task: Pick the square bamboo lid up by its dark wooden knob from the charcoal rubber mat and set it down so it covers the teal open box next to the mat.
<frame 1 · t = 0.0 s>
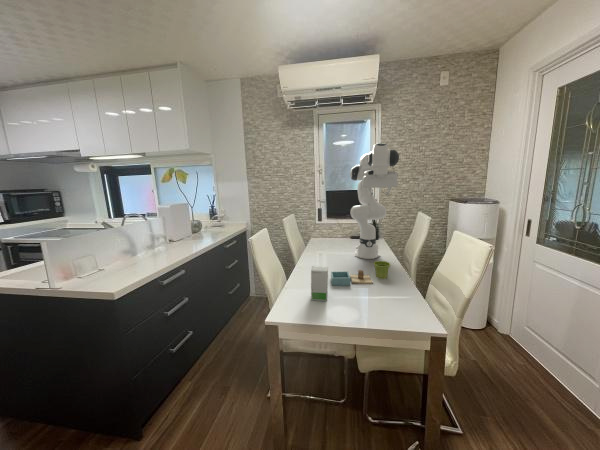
hand: (379, 195, 151), 48 cm above the table, fingers open, 8 cm apart
teal open box: (340, 283, 143), on the table
lid: (360, 279, 145), point 1 cm above the table, touching mat
plant pot: (381, 277, 149), on the table
mat: (360, 280, 145), on the table
skincare box: (319, 298, 126), on the table
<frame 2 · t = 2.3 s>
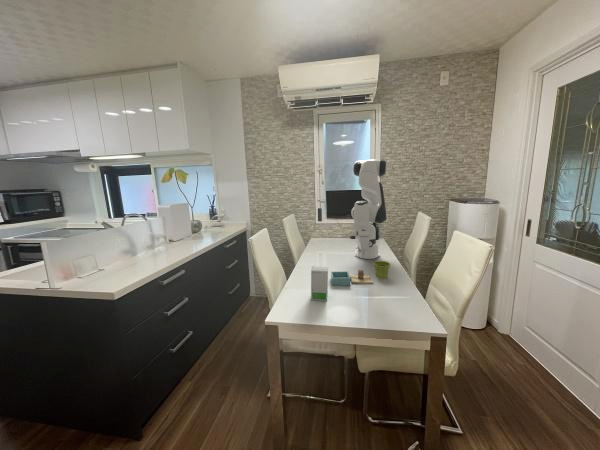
hand: (361, 254, 142), 16 cm above the table, fingers open, 8 cm apart
nothing on the table moved.
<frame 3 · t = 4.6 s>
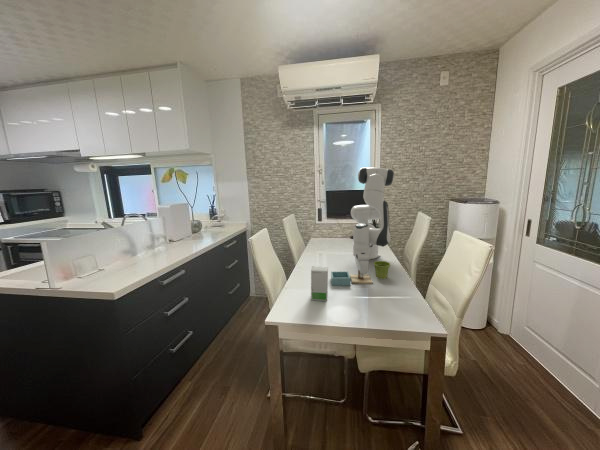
hand: (360, 275, 145), 3 cm above the table, fingers closed on lid, 3 cm apart
lid: (360, 279, 145), point 1 cm above the table, touching gripper, mat
everything else where it was.
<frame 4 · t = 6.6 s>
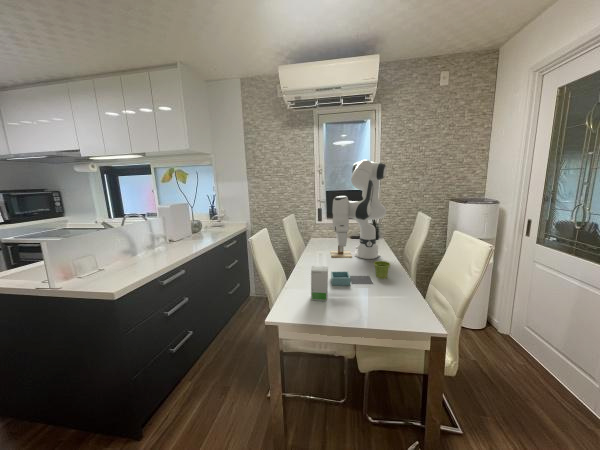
hand: (340, 250, 139), 19 cm above the table, fingers closed on lid, 3 cm apart
lid: (340, 255, 140), point 17 cm above the table, touching gripper
everything else where it was.
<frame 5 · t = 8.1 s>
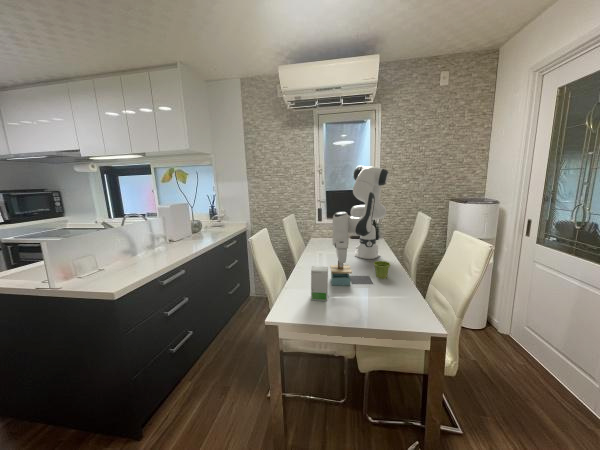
hand: (340, 265, 141), 11 cm above the table, fingers closed on lid, 3 cm apart
lid: (340, 269, 141), point 8 cm above the table, touching gripper
everything else where it was.
when the fingers open (9 cm above the table, at t = 9.1 s): lid drops 1 cm, resting on teal open box.
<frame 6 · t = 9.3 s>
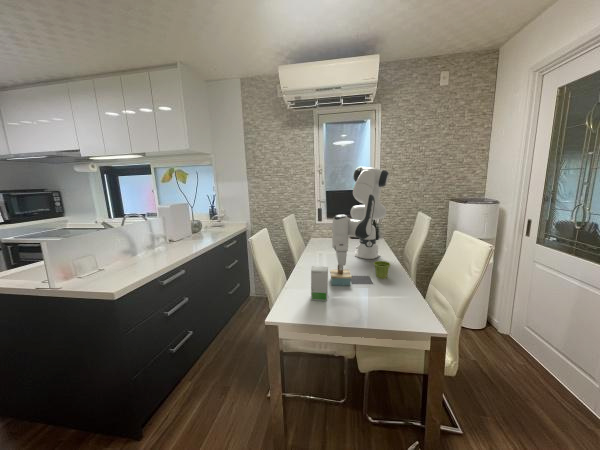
hand: (340, 267, 141), 9 cm above the table, fingers open, 5 cm apart
lid: (340, 274, 142), point 5 cm above the table, touching teal open box
everything else where it was.
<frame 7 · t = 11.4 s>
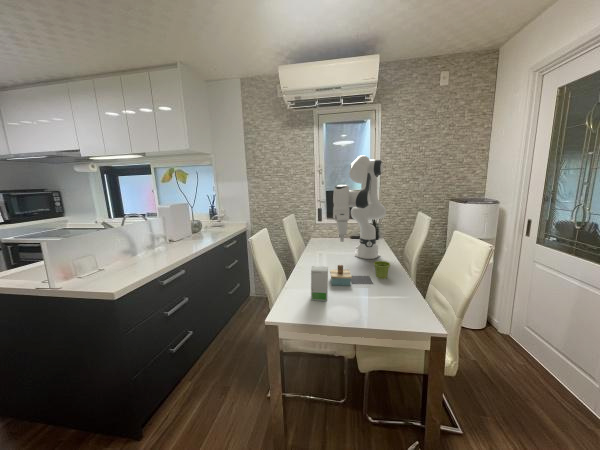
hand: (341, 239, 140), 25 cm above the table, fingers open, 8 cm apart
nothing on the table moved.
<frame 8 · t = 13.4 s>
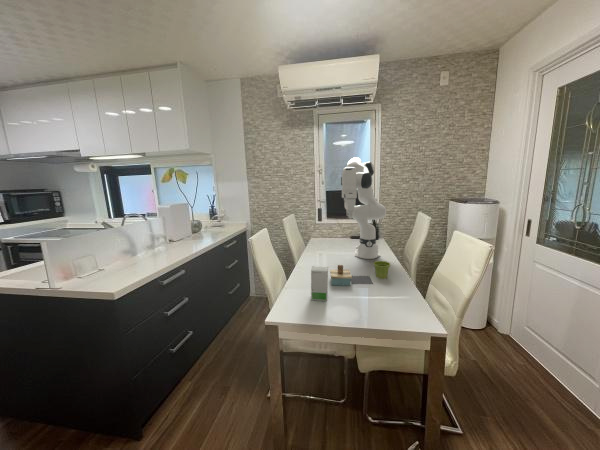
hand: (349, 217, 153), 35 cm above the table, fingers open, 8 cm apart
nothing on the table moved.
at the end: lid 0.1 cm off-centre on the teal open box, point 5.0 cm above the teal open box's base; lid tilted 0°; the gripper is holding nothing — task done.
